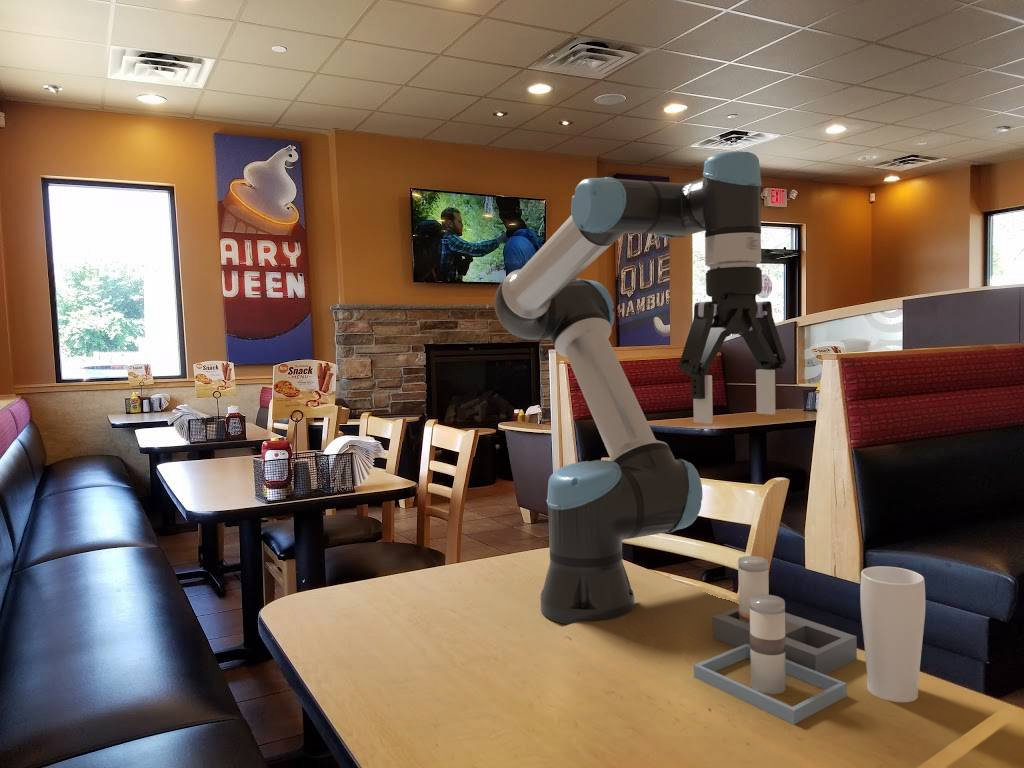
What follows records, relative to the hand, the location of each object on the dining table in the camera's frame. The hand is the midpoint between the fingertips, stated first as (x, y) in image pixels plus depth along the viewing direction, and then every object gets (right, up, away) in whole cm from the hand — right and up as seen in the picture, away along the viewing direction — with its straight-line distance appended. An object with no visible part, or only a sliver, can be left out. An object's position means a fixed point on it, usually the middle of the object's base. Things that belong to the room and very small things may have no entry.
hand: (735, 418), depth 103 cm
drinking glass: (+13, -33, -17) cm, 39 cm away
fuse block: (+5, -32, -4) cm, 33 cm away
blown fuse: (-1, -32, -15) cm, 35 cm away
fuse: (+2, -31, -1) cm, 31 cm away
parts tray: (-1, -33, -15) cm, 36 cm away
